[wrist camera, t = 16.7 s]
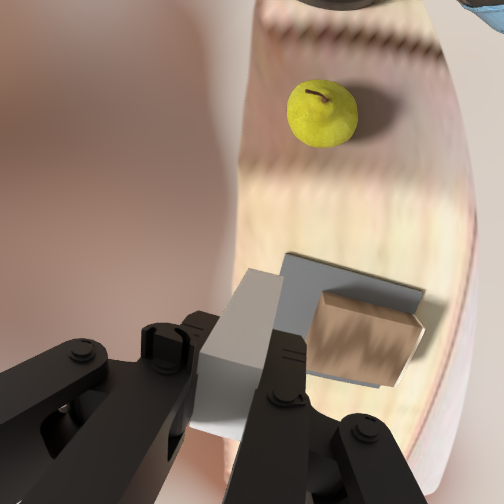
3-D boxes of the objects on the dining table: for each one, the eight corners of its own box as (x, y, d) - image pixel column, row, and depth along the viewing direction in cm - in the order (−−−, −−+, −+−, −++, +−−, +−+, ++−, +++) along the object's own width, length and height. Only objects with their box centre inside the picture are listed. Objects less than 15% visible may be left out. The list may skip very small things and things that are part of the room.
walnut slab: (324, 303, 31) (425, 328, 30) (322, 290, 35) (414, 314, 34) (300, 368, 33) (396, 387, 32) (301, 350, 37) (389, 369, 36)
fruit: (353, 95, 30) (377, 56, 19) (349, 155, 32) (375, 142, 20) (290, 88, 31) (285, 44, 19) (285, 147, 33) (278, 130, 21)
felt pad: (285, 253, 35) (285, 254, 35) (421, 291, 34) (422, 292, 33) (254, 357, 39) (254, 360, 38) (377, 385, 37) (378, 388, 37)
